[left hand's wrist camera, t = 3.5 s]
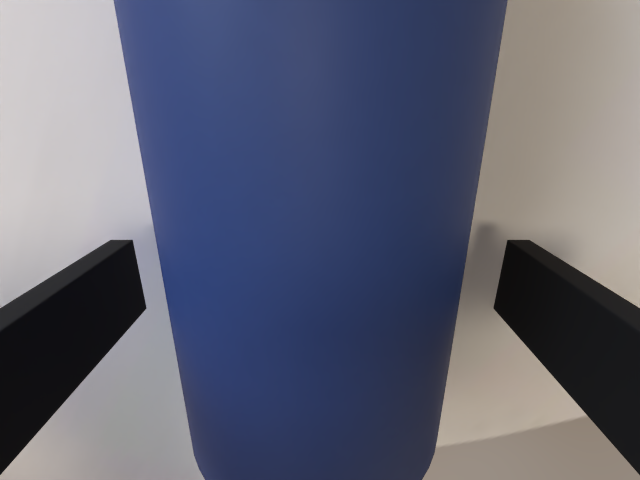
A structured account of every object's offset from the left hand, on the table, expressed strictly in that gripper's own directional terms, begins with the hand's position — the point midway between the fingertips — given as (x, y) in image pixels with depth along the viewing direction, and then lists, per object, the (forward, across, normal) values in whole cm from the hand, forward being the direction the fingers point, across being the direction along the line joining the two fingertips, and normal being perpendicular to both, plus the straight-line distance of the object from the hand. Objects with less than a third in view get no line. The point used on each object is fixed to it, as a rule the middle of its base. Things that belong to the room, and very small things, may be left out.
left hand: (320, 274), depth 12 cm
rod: (+2, 0, -8) cm, 8 cm away
